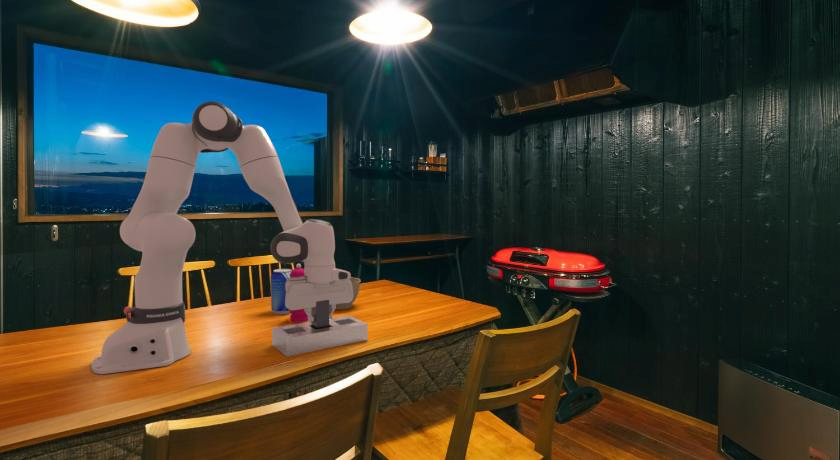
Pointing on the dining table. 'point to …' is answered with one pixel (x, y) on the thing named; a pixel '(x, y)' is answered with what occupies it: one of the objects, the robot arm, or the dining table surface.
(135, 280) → the robot arm
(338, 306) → the planter bowl
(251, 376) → the dining table surface
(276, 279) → the beer can
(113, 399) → the dining table surface
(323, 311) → the steel block
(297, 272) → the pepper mill
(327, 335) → the white slotted block holder
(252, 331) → the dining table surface
